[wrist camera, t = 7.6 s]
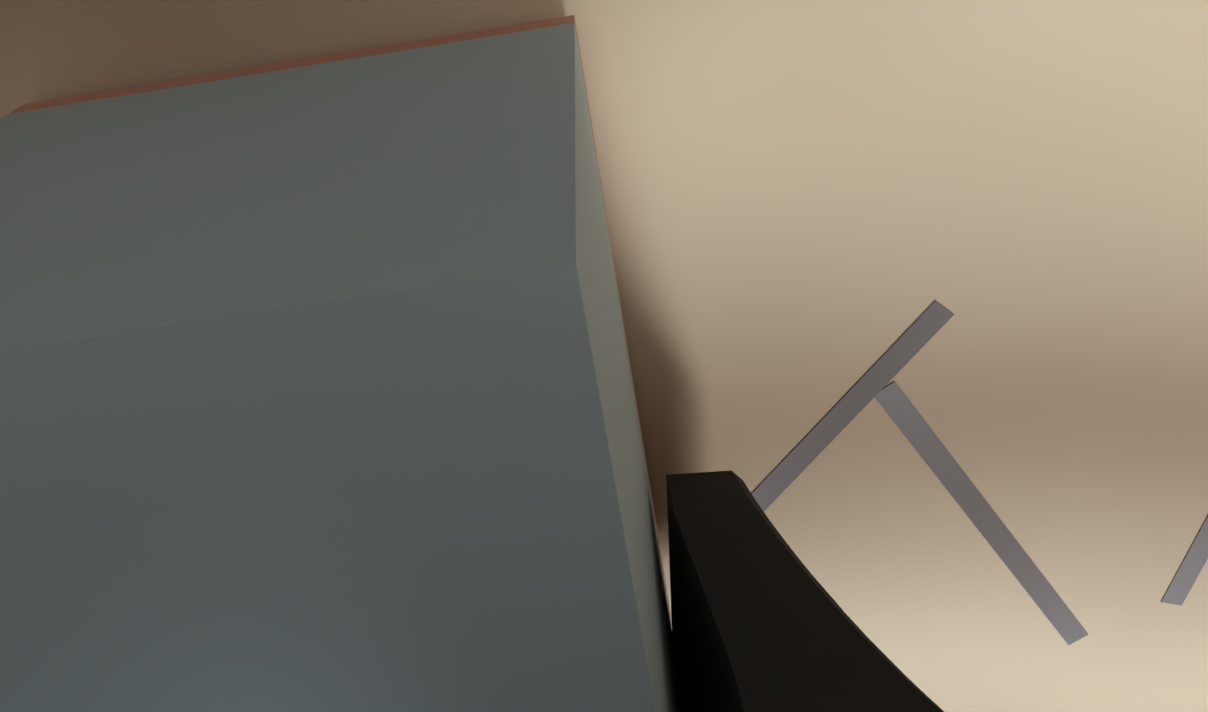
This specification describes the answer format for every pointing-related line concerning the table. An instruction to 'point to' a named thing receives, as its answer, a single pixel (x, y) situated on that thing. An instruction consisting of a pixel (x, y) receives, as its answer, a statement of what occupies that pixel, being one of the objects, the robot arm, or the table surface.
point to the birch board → (871, 292)
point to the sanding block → (324, 394)
